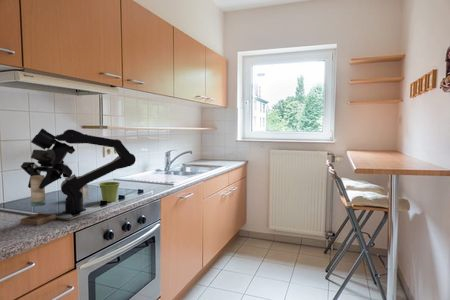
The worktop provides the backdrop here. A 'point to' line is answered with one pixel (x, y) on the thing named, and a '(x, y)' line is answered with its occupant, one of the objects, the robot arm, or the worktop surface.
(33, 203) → the birch sleeve
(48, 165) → the robot arm
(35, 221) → the walnut socket tray
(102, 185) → the plant pot
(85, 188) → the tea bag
